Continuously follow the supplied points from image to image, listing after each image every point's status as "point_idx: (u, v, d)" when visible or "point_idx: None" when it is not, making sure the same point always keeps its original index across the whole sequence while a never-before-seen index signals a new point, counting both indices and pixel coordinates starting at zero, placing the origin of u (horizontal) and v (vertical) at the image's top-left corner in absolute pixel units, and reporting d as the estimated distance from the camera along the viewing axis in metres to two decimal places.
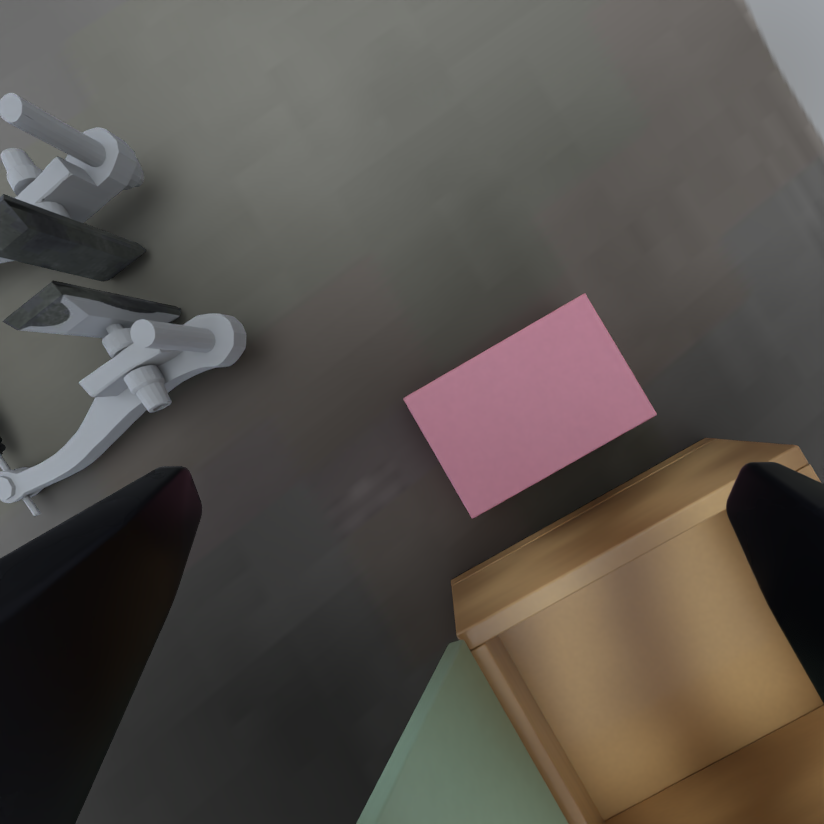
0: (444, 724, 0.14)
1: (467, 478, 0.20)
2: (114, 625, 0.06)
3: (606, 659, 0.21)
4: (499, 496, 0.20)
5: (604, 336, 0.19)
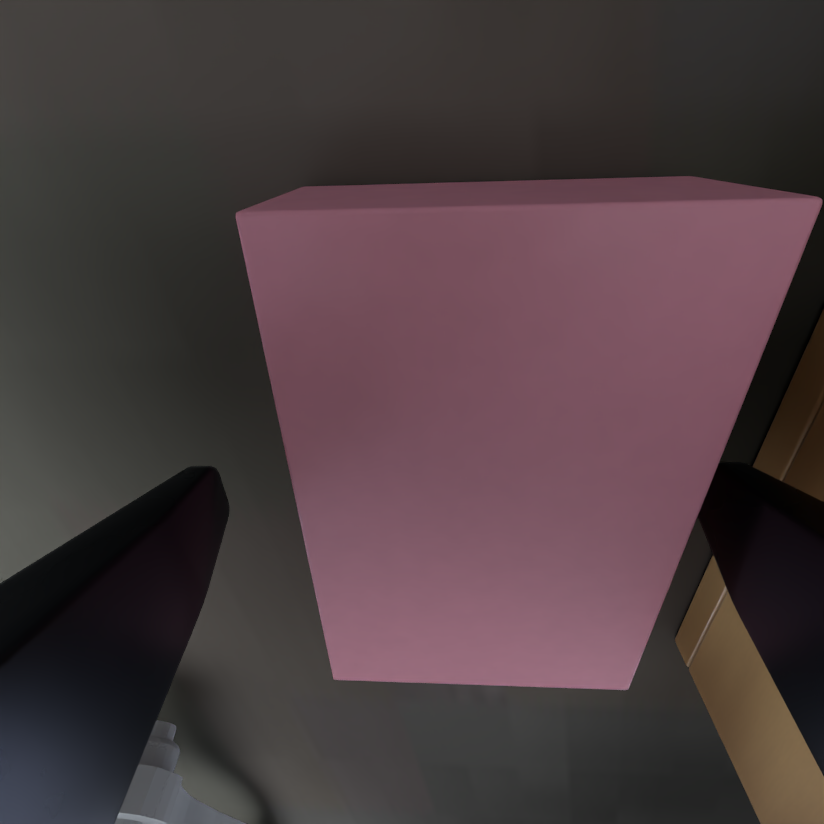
0: None
1: (550, 669, 0.09)
2: (151, 625, 0.06)
3: None
4: (631, 645, 0.08)
5: (423, 231, 0.05)
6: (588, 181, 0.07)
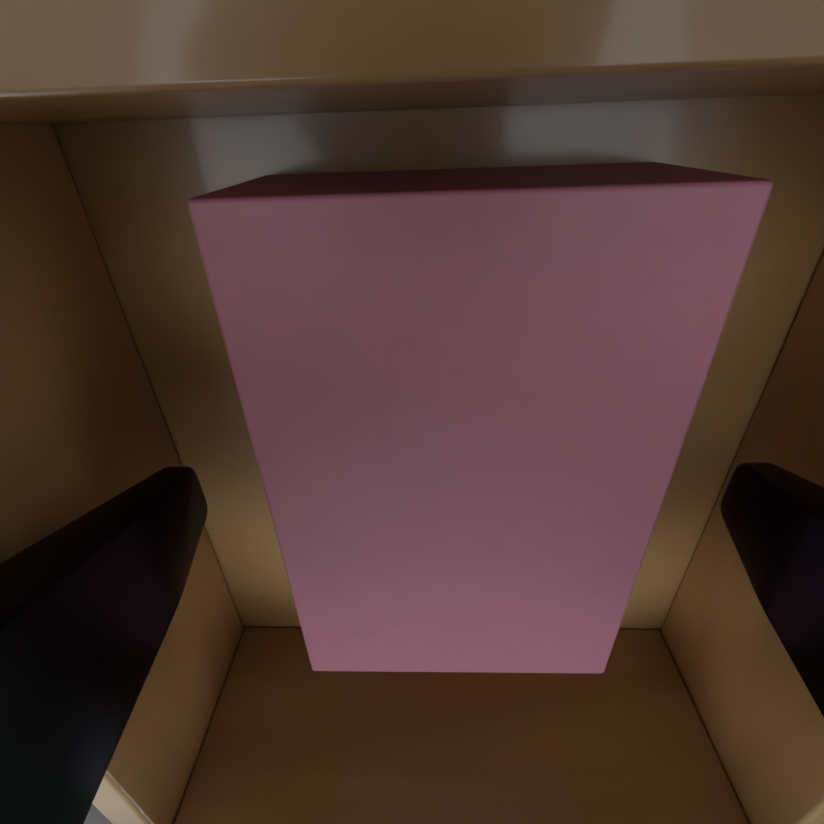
0: None
1: (527, 654, 0.09)
2: (122, 625, 0.06)
3: None
4: (604, 629, 0.09)
5: (378, 217, 0.05)
6: (552, 167, 0.06)
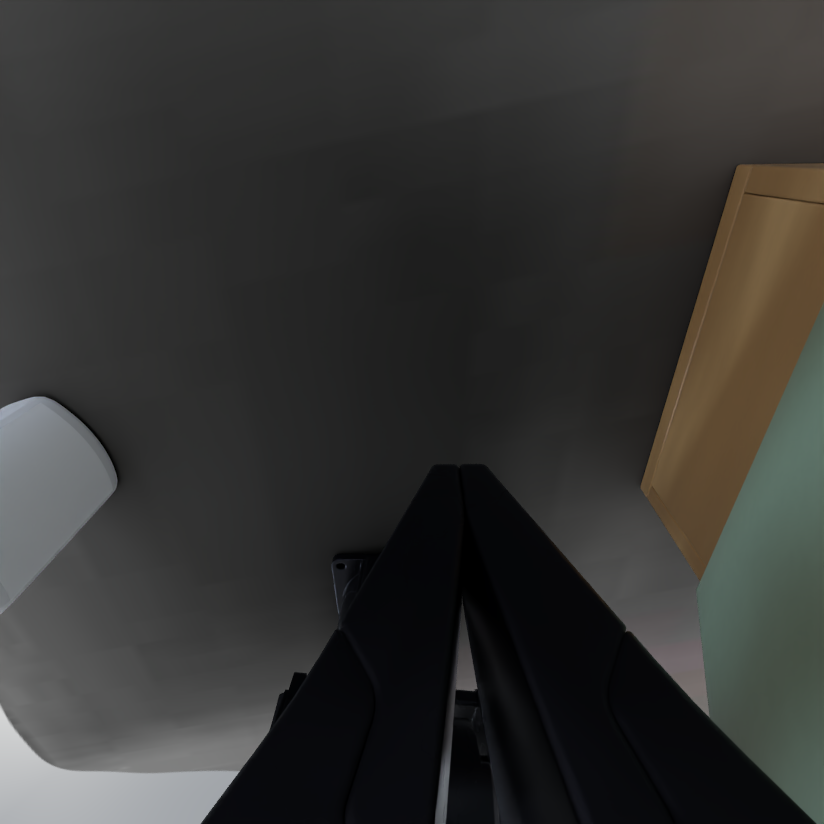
0: None
1: None
2: (459, 627, 0.06)
3: None
4: None
5: None
6: None
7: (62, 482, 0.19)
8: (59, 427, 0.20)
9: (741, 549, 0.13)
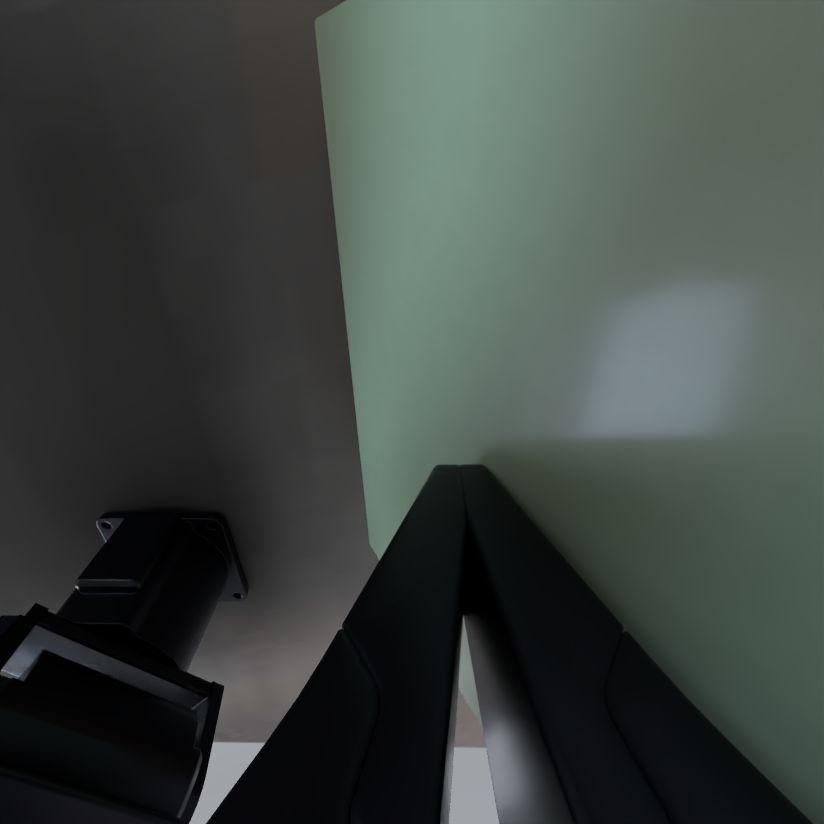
0: None
1: None
2: (461, 627, 0.06)
3: None
4: None
5: None
6: None
7: None
8: None
9: (388, 487, 0.12)
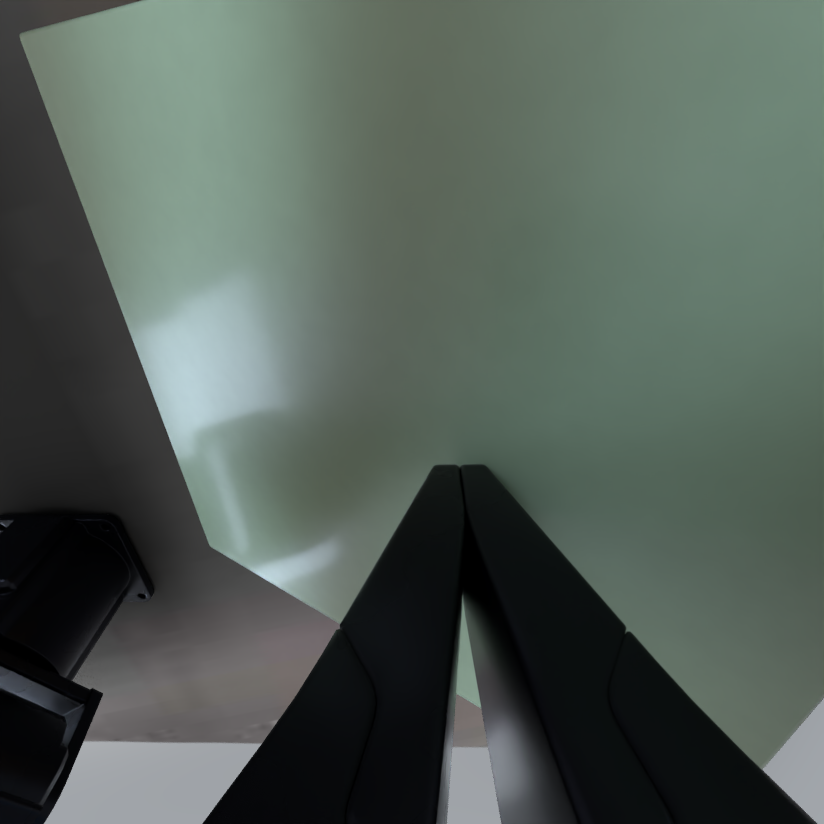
0: None
1: None
2: (459, 628, 0.06)
3: None
4: None
5: None
6: None
7: None
8: None
9: (217, 473, 0.13)
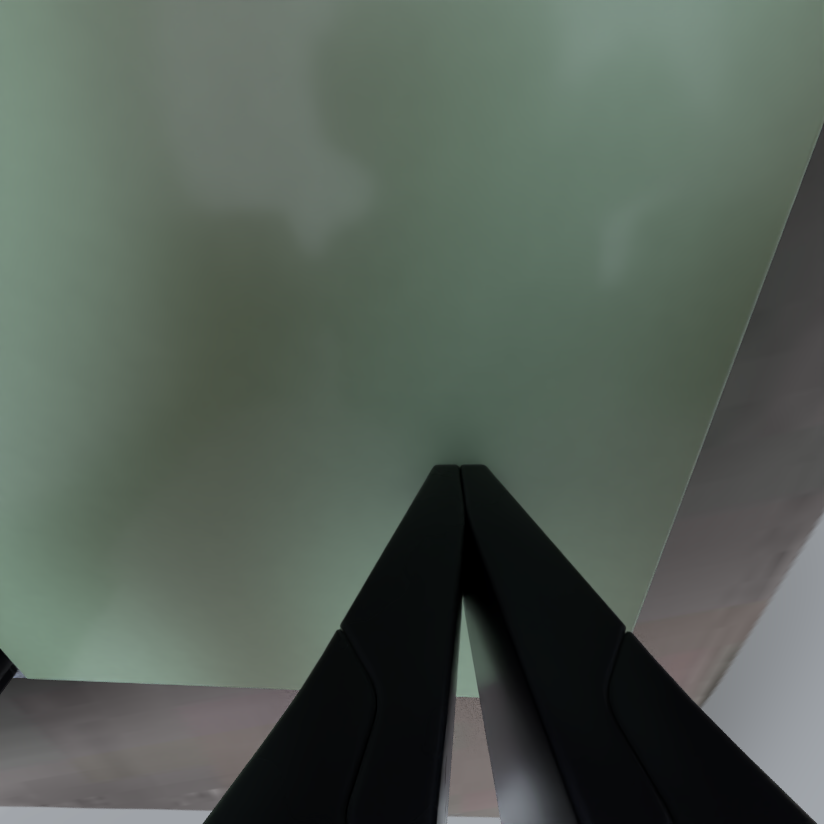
0: None
1: None
2: (460, 627, 0.06)
3: None
4: None
5: None
6: None
7: None
8: None
9: (23, 581, 0.10)
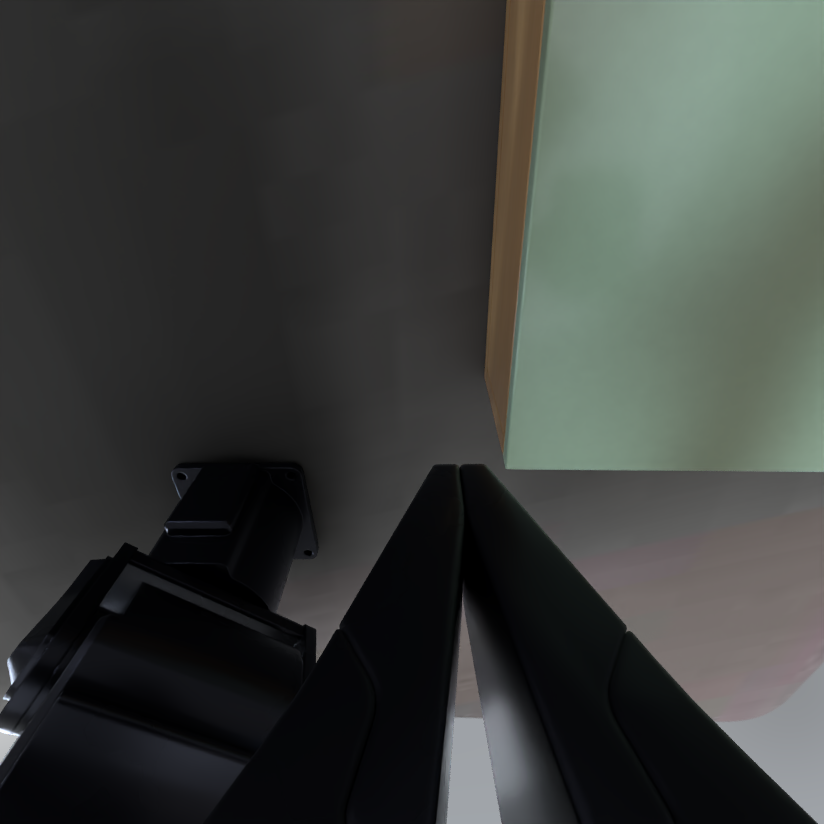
0: None
1: None
2: (459, 627, 0.06)
3: None
4: None
5: None
6: None
7: None
8: None
9: (590, 355, 0.12)
